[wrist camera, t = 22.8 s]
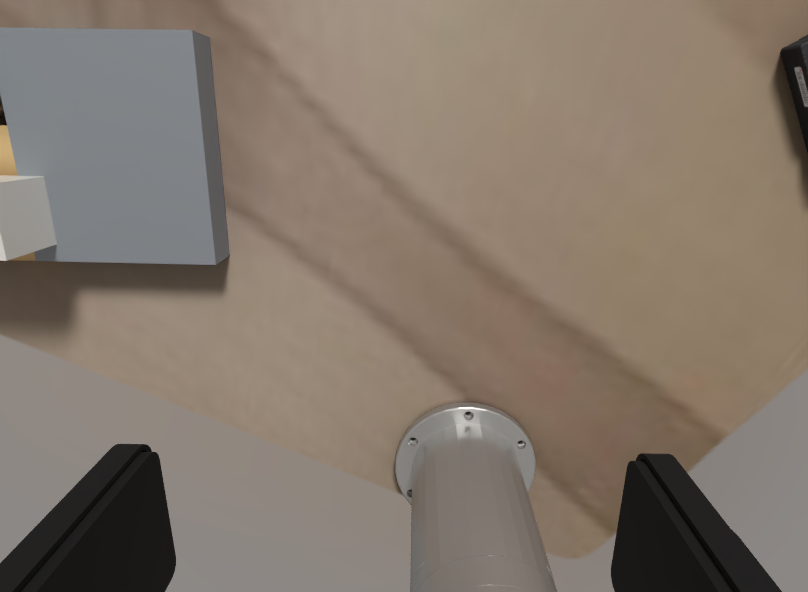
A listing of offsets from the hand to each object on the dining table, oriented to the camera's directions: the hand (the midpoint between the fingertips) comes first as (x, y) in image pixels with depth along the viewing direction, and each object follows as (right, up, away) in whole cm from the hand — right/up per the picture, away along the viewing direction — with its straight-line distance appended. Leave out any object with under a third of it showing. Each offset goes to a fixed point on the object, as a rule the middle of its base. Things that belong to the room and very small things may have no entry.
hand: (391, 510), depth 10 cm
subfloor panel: (-25, +15, +29) cm, 41 cm away
